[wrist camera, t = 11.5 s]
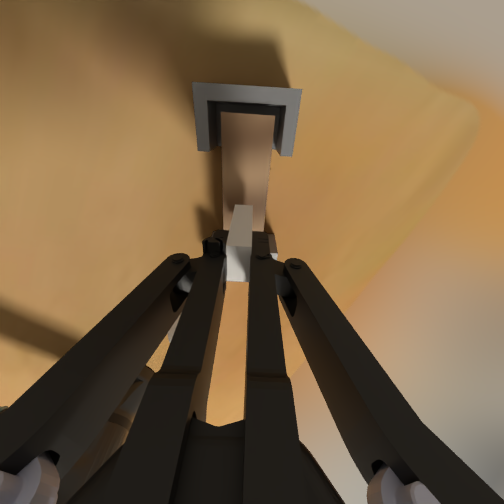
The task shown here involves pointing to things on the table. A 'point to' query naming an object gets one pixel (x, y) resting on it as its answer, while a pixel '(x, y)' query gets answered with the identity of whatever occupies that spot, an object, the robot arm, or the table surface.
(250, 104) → the cap
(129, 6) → the table surface
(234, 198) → the slat
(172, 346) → the robot arm
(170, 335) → the ball
